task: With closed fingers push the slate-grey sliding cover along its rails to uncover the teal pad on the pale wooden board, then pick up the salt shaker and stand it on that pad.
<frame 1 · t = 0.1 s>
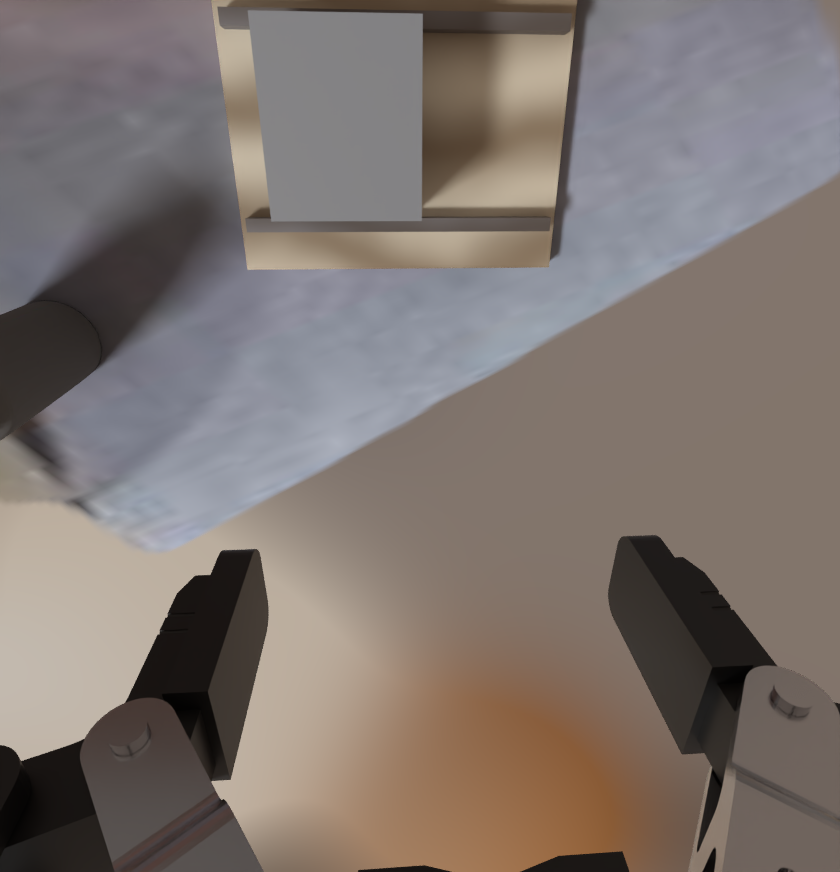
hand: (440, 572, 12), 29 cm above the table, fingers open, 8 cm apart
cover: (345, 127, 30), point 4 cm above the table, slide at 0.0 cm
bottle: (59, 340, 38), on the table
board: (398, 131, 34), on the table
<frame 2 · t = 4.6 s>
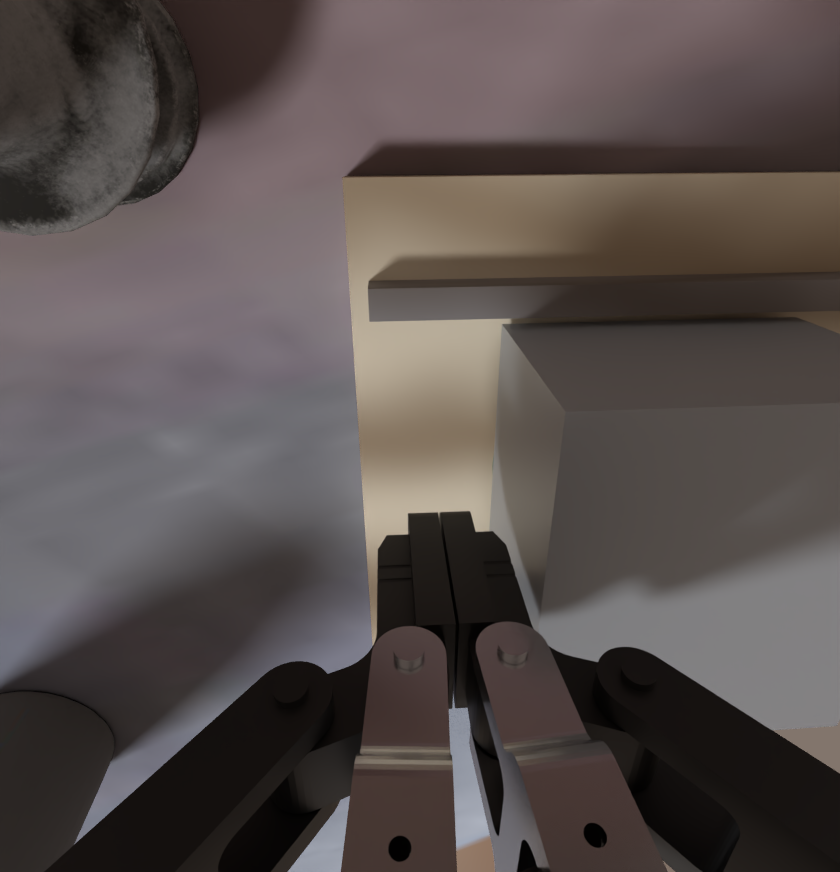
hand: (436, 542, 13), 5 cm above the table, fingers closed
salt shaker: (86, 85, 13), on the table
cover: (666, 521, 14), point 4 cm above the table, slide at 1.0 cm, touching gripper
bottle: (45, 732, 23), on the table
board: (665, 440, 18), on the table
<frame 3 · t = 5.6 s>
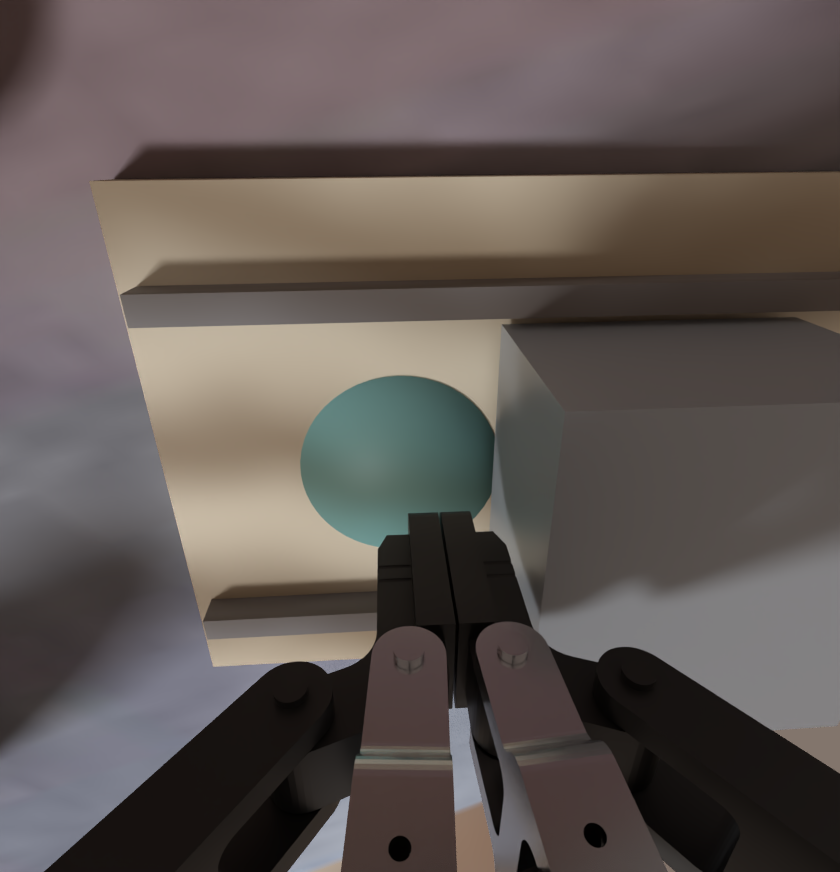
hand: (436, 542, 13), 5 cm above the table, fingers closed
cover: (666, 521, 14), point 4 cm above the table, slide at 6.8 cm, touching gripper
board: (491, 446, 18), on the table
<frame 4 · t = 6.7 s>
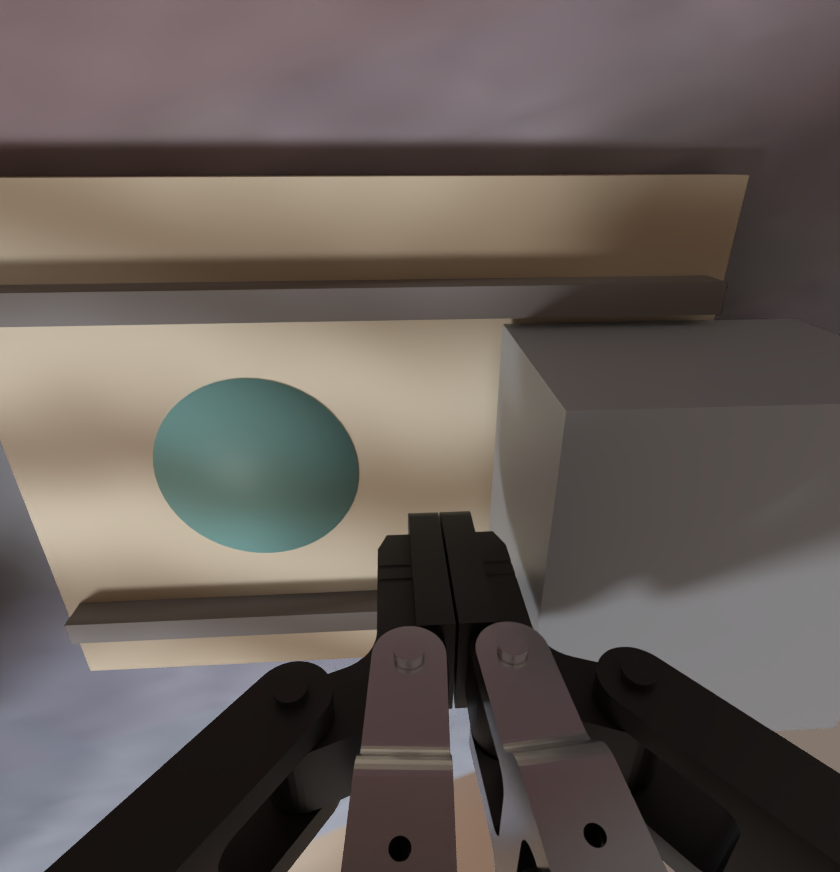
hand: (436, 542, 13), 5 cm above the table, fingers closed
cover: (665, 521, 14), point 4 cm above the table, slide at 11.0 cm, touching gripper
board: (360, 450, 18), on the table
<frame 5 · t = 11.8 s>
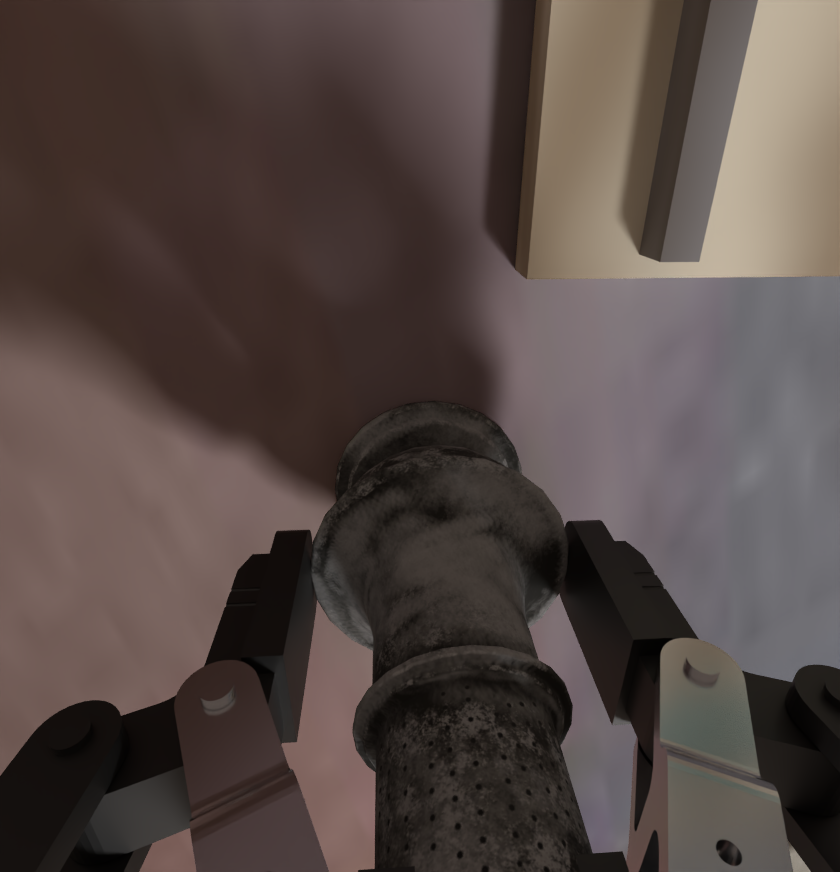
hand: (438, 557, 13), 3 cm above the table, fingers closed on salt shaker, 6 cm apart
salt shaker: (428, 483, 16), on the table, touching gripper
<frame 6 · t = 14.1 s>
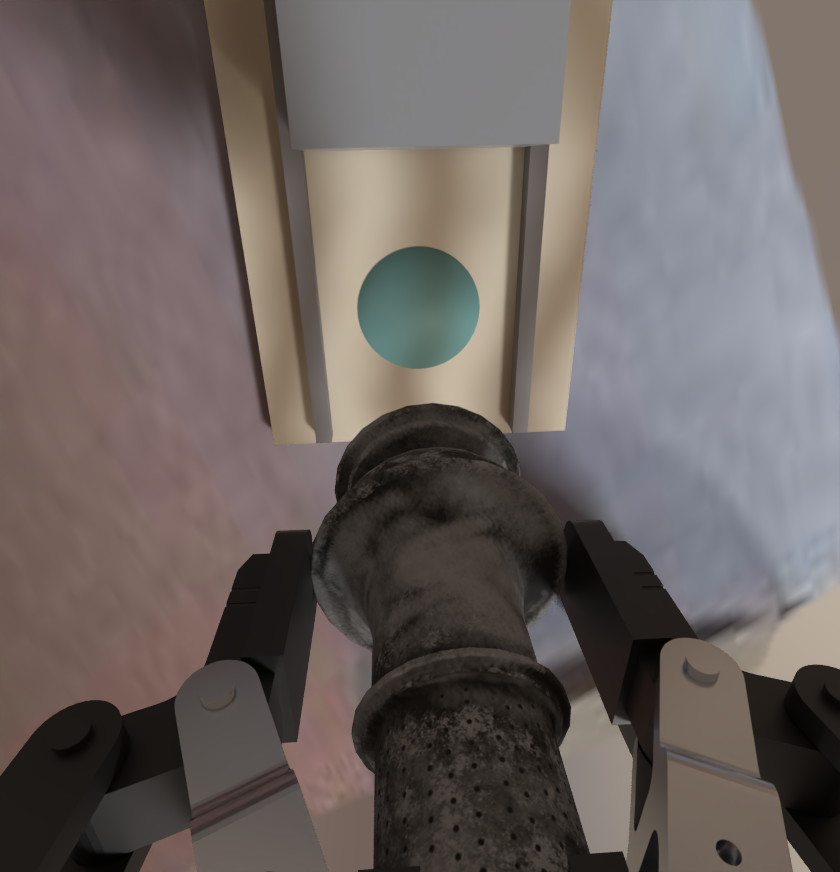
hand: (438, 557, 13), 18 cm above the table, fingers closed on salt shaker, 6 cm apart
salt shaker: (428, 484, 16), point 15 cm above the table, touching gripper
cover: (418, 18, 19), point 4 cm above the table, slide at 11.0 cm
bottle: (608, 596, 38), on the table
board: (416, 243, 27), on the table
when the fingers open (5 cm above the table, at t = 16.7 s): salt shaker stays where it is, resting on board.
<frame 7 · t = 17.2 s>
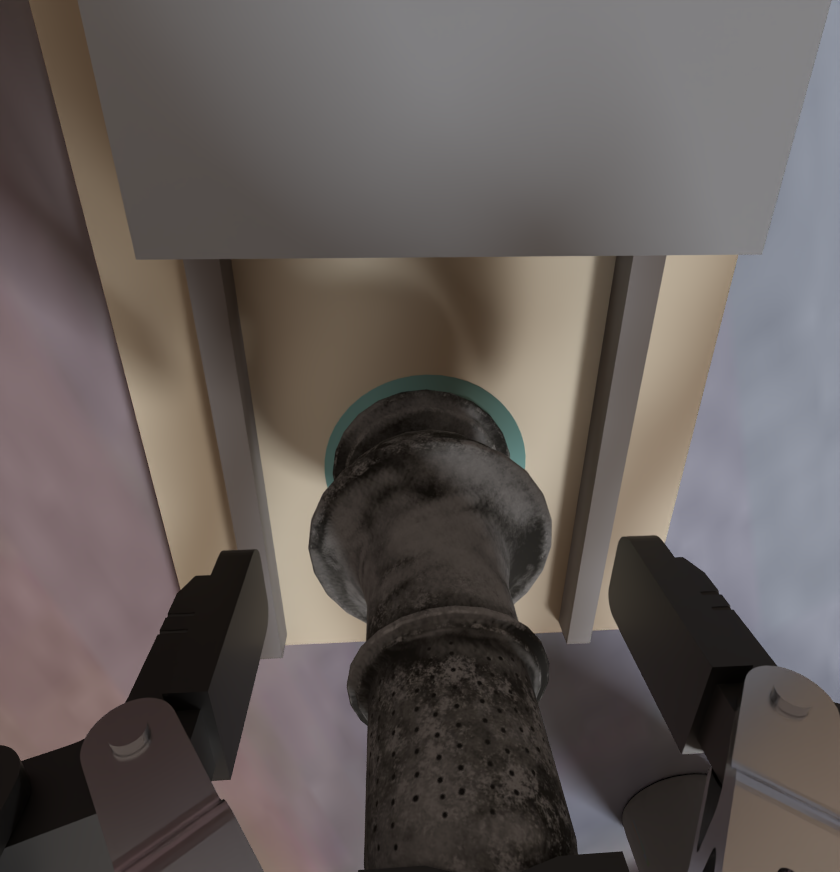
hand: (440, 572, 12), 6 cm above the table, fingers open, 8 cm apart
salt shaker: (421, 468, 16), point 1 cm above the table, touching board
bottle: (675, 803, 28), on the table
board: (423, 360, 16), on the table
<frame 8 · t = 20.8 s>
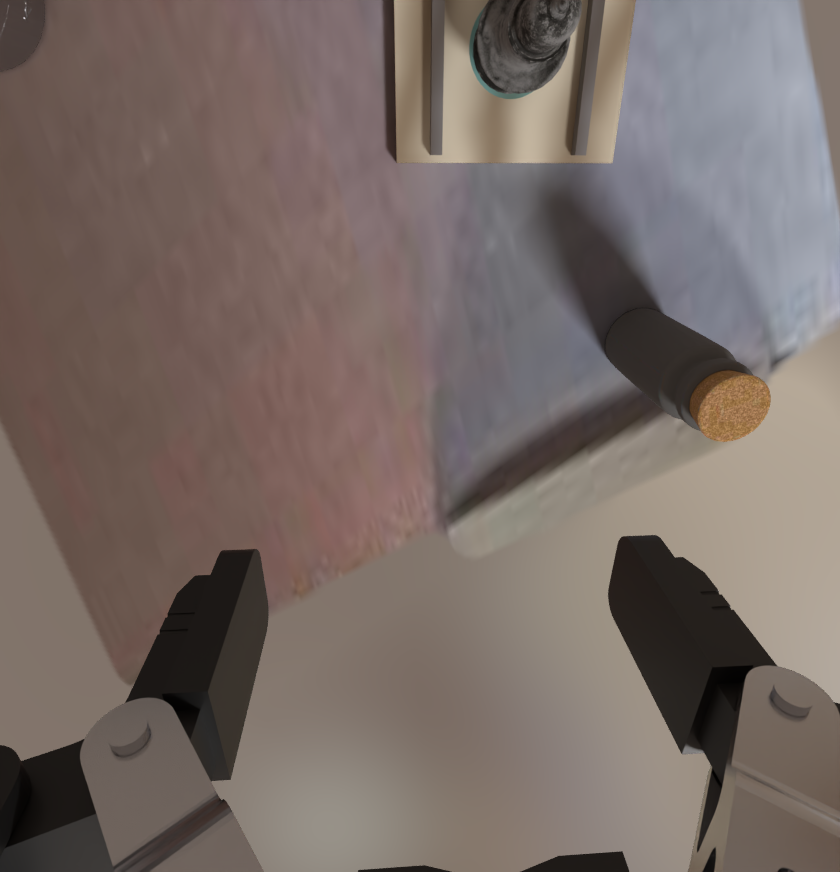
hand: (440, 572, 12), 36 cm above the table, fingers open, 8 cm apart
salt shaker: (511, 48, 37), point 1 cm above the table, touching board
bottle: (636, 339, 48), on the table
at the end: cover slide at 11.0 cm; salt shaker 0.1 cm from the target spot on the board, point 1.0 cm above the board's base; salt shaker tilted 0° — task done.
